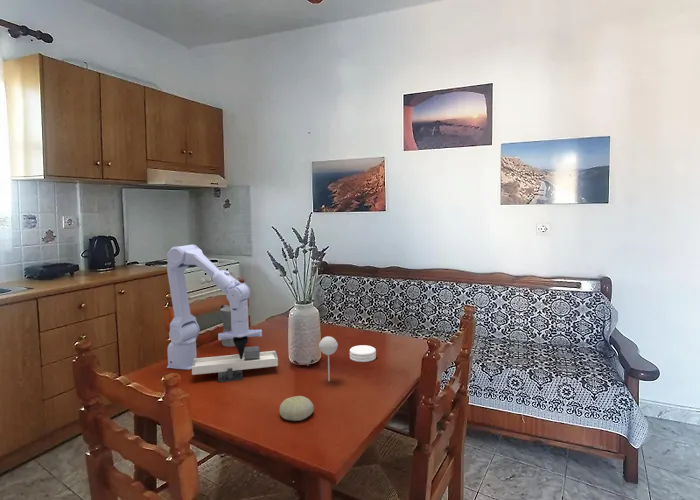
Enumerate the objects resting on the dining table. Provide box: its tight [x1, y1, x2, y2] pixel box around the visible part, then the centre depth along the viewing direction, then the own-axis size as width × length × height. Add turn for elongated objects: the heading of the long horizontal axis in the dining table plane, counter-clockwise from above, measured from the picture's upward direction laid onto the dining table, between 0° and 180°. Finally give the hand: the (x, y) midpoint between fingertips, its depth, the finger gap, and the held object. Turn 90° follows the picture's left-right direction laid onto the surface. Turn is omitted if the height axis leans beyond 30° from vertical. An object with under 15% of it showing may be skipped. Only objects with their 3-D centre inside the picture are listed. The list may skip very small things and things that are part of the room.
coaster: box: [349, 344, 377, 363], centre depth 166 cm, size 10×10×4 cm
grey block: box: [243, 345, 261, 361], centre depth 152 cm, size 5×5×4 cm
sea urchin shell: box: [279, 395, 314, 422], centre depth 121 cm, size 9×8×8 cm
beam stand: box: [217, 368, 244, 383], centre depth 151 cm, size 8×12×4 cm, turn 16°
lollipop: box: [318, 335, 339, 382], centre depth 143 cm, size 6×6×15 cm
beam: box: [191, 350, 279, 376], centre depth 151 cm, size 28×8×3 cm, turn 106°
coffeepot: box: [219, 302, 236, 348], centre depth 184 cm, size 15×9×18 cm, turn 44°
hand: (241, 358), depth 151 cm, fingers closed
